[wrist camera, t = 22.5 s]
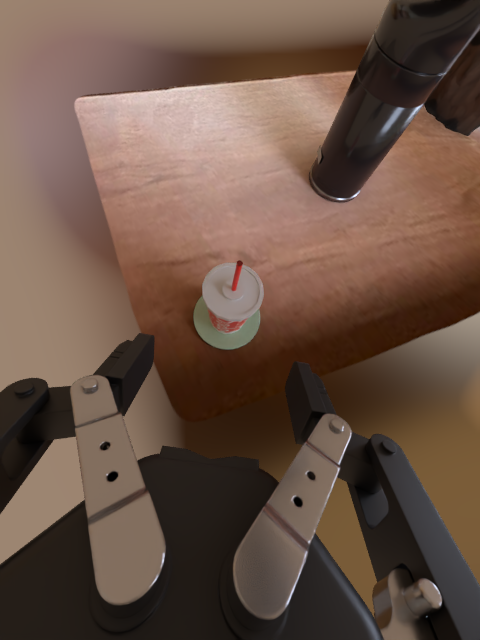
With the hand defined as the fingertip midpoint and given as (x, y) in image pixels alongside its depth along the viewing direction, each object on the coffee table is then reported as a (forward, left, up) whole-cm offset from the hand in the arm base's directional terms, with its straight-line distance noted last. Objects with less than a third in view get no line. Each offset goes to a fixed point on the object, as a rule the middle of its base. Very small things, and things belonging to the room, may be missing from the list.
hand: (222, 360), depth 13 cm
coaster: (-7, -4, -17) cm, 19 cm away
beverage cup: (-7, -4, -17) cm, 19 cm away
